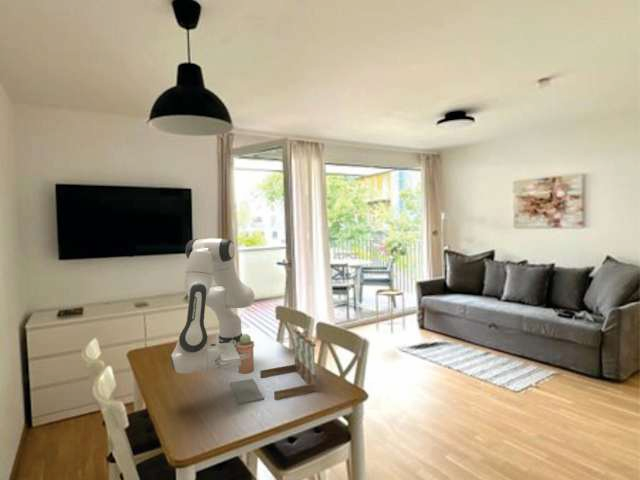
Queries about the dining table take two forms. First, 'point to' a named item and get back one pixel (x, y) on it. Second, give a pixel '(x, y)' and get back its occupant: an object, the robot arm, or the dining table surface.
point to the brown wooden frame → (297, 367)
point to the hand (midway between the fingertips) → (247, 352)
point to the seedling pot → (244, 347)
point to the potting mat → (246, 391)
